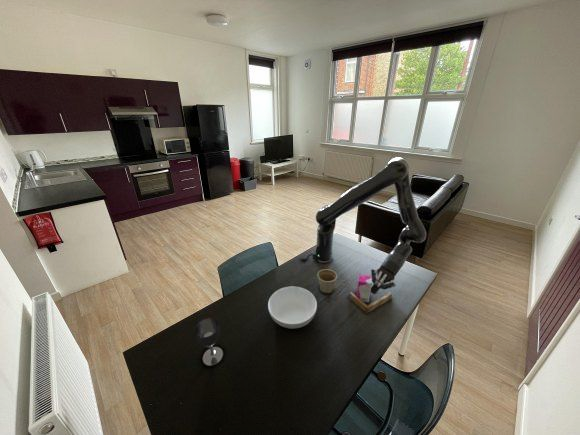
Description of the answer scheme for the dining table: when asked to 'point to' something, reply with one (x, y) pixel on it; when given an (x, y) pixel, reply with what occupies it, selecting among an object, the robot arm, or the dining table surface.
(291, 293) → the serving bowl
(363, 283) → the supplement box
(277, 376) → the dining table surface
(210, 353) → the wine glass
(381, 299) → the corner fence
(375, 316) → the dining table surface
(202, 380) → the dining table surface
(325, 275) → the flower pot
